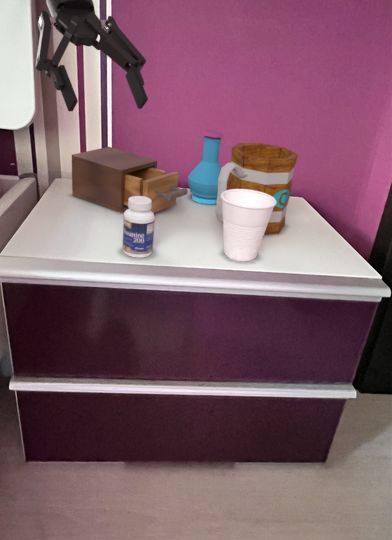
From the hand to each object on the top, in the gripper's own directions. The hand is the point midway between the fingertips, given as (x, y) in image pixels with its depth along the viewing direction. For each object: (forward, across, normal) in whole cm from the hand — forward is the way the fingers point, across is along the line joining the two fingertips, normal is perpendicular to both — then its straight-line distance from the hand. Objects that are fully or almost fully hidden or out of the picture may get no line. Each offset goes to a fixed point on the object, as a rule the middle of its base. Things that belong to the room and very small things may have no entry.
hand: (109, 105), depth 95 cm
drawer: (+10, -14, -21) cm, 27 cm away
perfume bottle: (+10, -31, -22) cm, 39 cm away
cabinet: (+4, -11, -28) cm, 30 cm away
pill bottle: (+24, 0, -9) cm, 25 cm away
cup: (+30, -17, -2) cm, 35 cm away
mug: (+22, -28, -10) cm, 37 cm away
